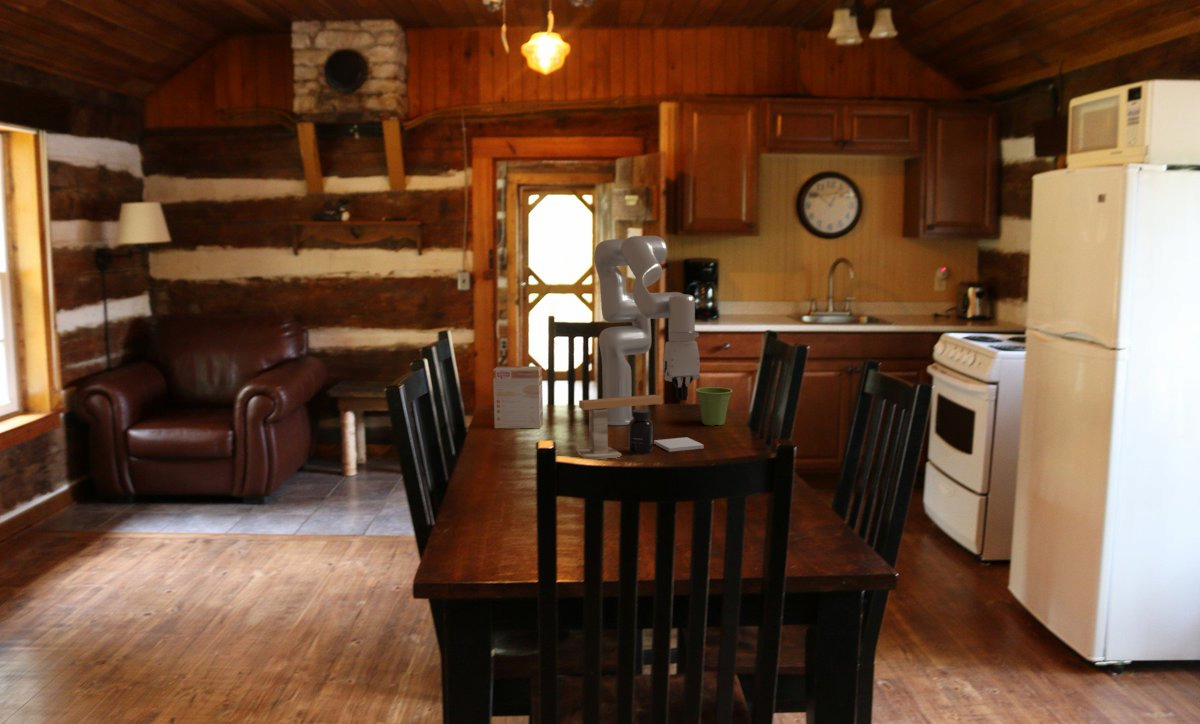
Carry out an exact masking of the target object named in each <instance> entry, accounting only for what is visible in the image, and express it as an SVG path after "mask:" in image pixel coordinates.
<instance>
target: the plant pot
mask: <svg viewBox="0 0 1200 724" xmlns="http://www.w3.org/2000/svg"><path fill="white" fill-rule="evenodd" d="M695 392H697V398H698V401H699V408H700V409H699V410H700V415H701V416H700V417H701V423H702V424H703V425H705V426H713V427H714V426H715V425H717V426H722V425H725V423H726V419H727V411H728V406H729V401H730V399H731V394H732V393H733V389H731V388H727V387H726V388H725V387H719V386H718V387H716V386H715V387H714V386H711V387H710V386H708V387H707V386H706V387H698V388H696V389H695Z"/></svg>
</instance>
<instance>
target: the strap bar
mask: <svg viewBox="0 0 1200 724" xmlns="http://www.w3.org/2000/svg"><path fill="white" fill-rule="evenodd" d="M661 404H663V396H661V395H660V394H648V395H647V394H646V395H645V394H644V395H633V396H632V395H631V397H618V398H606V399H603V398H594V399H581V400H579V401H578V408H579V409H581V410H583V411H589V410H591V409H603V408H615V407H627V406H632V407H637V406H648V405H649V406H651V405H661Z"/></svg>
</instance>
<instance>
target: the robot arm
mask: <svg viewBox="0 0 1200 724" xmlns="http://www.w3.org/2000/svg"><path fill="white" fill-rule="evenodd" d="M667 254H668V246H667V244H666V241H665V240H664V239H663V238H662V237H660V236H658V235H633V236H630V237H627V238H625V239H624V238H620V239H618V238H615V239H614V238H613V239H606V240H603V241H601V242H599V243H598V244H597V245H596V246H595V249H594V255H593V260H594V261H593V262H594V265H595V269H596V272H597V276H598V279H599V280H598V281H599V291H600V303H601V304H600V305H601V315H602V319H604V321H606V322H607V323H627V322H628V323H629V322H630V323H631V324H632V325H624V326H623V325H621V326H611V327H607V328H604V329H603V330H602V331H601V332H600V333H599V336H598V345H599V349H600V357H601V365H602V367H601V368H602V369H601V370H602V371H601V372H602V373H601V375H602V376H601V377H602V399H606V398H618V397H631V396H632V368H631V365H630V363H629V362H628V361H627V359H626V357H625V356H632V355H633V356H634V355H642V354H646V353H648V352H649V350H651V347H652V325H651V319H653V320H654V319H668V341H666V342H665V344H664V345H665V346H664V352H663V359H662V360H663V361H662V362H663V363H662V373H663V374H664V381H666V382H671V383H673V385H674V386H675V397H676V399H677V400H678V401H681V402H682V401H687V399H688V392H689V391H688V390H689V389H688V387H690V384H691V383H692V382H693V381H694V380H697V379H698V380H699V378H700V369H701V368H700V366H701V365H700V353H699V347H698V342H697V341H695V340H696V338H699V336H700V334H699V332H696V326H695V325H696V315H695V314H696V309H695V307H696V304H695V303H696V301H695V300H696V299H695V297H694V296H693V295H691V294H684V293H682V292H679V291H672V292H671V291H670V292H649V290H648V287H650V286H652V285H653V284H654V283H656V282H657V281H659V279H660V278H661V277H662V275H663V268H662V265H661V264H660V263H662V262H663V261H664V260H665V259H666V258H667V256H668V255H667ZM620 266H621V267H622V266H623V267H624V266H628V267H629V269H630V271H631V272H632V274H633V276H634V277H635V279H634V282H633V285H632V292H628V291H627V282H626V278H625V275H624V274H623V272H622V271H621V270H620V268H619V267H620ZM606 409H607V425H608V426H629V422H630V421H631V420H632V419H633V417H632V415H633V410H632V409H633V406H627V407H615V408H606Z"/></svg>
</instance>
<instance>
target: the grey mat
mask: <svg viewBox="0 0 1200 724" xmlns="http://www.w3.org/2000/svg"><path fill="white" fill-rule="evenodd" d="M653 444H654V445H655V444H656V445H655V446H657V447H660V448H662V449H663V450H665V451H667V452H670V453H671V452H680V451H690V450H699V449H704V444H702V443H701V442H698V441H696V440H694V439H692V438H691V437H690V438H689V437H687V436H686V437H676V438H666V439H657V440H656V439H655V440H653Z"/></svg>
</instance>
